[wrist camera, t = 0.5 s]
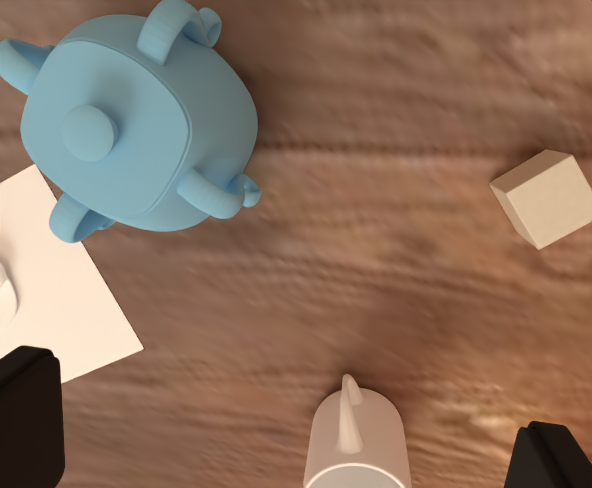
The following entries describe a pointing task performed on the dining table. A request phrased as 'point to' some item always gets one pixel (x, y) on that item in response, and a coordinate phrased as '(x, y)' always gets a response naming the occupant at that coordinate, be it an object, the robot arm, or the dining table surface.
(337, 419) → the mug
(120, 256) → the dining table surface
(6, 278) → the teacup and saucer
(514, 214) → the cream block
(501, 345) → the dining table surface
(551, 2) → the dining table surface
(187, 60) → the decorative pot
